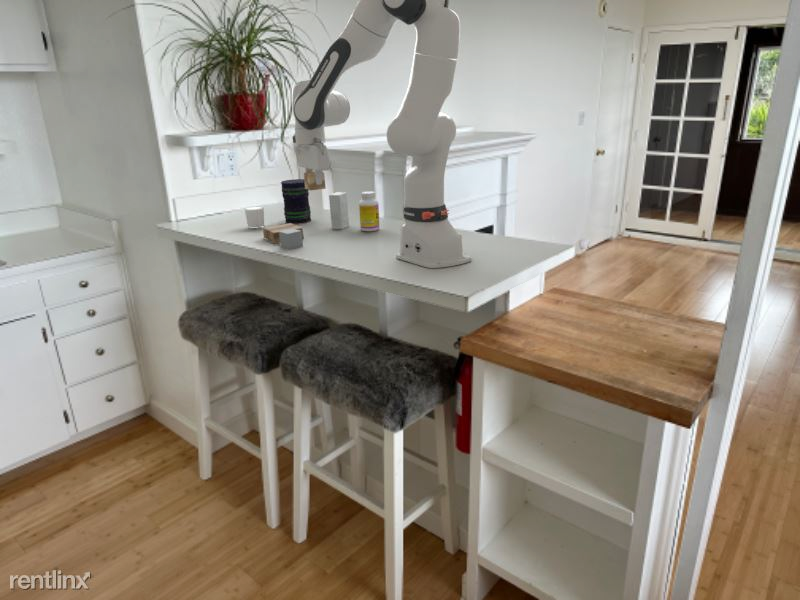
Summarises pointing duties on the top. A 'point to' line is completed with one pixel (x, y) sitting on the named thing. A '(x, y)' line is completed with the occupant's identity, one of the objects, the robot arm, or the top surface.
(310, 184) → the oak cube
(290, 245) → the grey cube
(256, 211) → the shot glass
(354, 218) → the top surface
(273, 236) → the walnut block
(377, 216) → the supplement bottle
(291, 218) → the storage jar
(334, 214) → the skincare box
